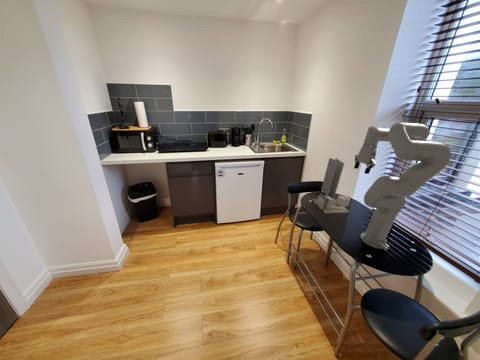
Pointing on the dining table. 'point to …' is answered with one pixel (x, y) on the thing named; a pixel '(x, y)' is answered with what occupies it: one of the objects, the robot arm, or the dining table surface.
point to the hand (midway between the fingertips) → (361, 170)
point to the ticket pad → (325, 201)
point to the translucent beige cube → (343, 200)
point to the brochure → (332, 176)
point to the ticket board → (332, 208)
